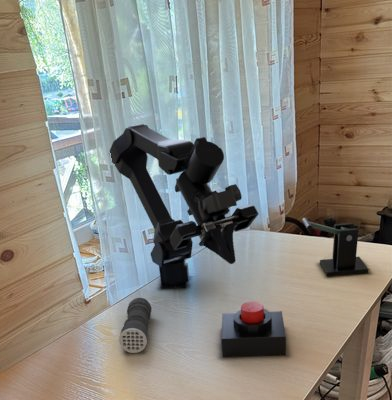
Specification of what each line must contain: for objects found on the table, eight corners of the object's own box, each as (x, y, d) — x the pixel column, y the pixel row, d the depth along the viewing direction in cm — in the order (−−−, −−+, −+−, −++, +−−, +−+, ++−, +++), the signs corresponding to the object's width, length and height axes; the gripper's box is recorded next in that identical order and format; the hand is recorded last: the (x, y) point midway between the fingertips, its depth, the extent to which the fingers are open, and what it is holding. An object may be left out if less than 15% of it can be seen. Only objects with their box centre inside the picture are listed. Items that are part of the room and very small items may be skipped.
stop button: (241, 324, 98) (240, 312, 96) (241, 313, 102) (240, 301, 100) (264, 323, 97) (264, 311, 96) (263, 312, 101) (263, 300, 100)
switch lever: (305, 232, 120) (309, 222, 119) (300, 223, 125) (304, 214, 124) (352, 244, 122) (356, 235, 121) (345, 235, 127) (349, 226, 126)
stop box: (222, 357, 99) (220, 330, 96) (223, 331, 107) (222, 305, 104) (285, 355, 98) (285, 328, 94) (281, 329, 106) (281, 303, 103)
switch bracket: (326, 277, 125) (329, 234, 119) (319, 264, 132) (321, 223, 126) (368, 273, 125) (372, 230, 119) (358, 260, 132) (362, 219, 126)
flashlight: (130, 317, 116) (126, 295, 113) (153, 315, 116) (150, 294, 113) (121, 353, 103) (117, 330, 100) (148, 351, 103) (144, 328, 100)
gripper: (170, 183, 94) (208, 256, 92) (251, 163, 102) (288, 230, 100) (155, 216, 104) (189, 282, 102) (230, 195, 112) (263, 257, 110)
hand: (233, 262), depth 103 cm, fingers closed
